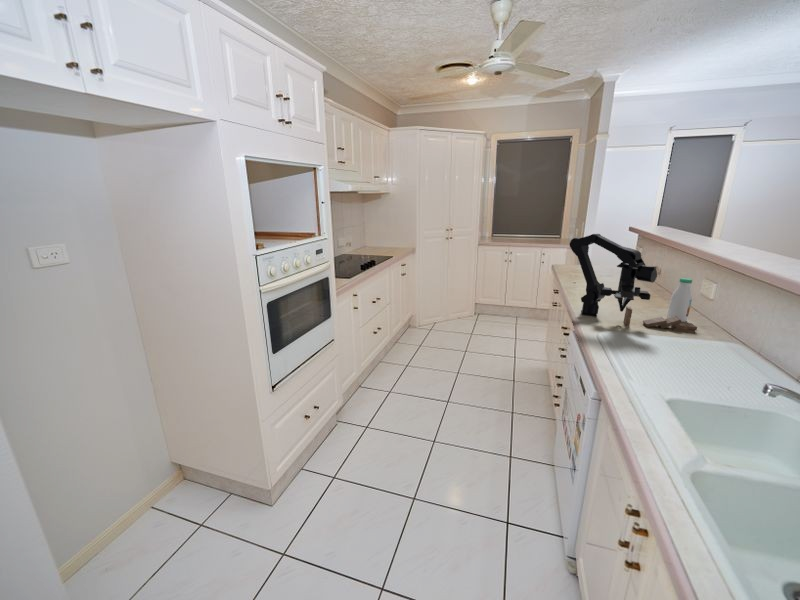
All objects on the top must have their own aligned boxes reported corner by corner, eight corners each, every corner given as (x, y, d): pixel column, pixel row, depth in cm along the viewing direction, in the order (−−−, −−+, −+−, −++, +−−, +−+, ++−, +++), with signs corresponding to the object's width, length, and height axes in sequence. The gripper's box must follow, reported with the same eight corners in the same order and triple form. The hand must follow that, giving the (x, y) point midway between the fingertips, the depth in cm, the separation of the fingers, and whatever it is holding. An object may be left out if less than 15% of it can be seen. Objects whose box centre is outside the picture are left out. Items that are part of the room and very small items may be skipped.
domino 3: (660, 325, 156) (680, 319, 153) (657, 321, 161) (676, 315, 157) (662, 328, 156) (681, 322, 153) (658, 324, 161) (677, 318, 157)
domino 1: (625, 324, 161) (628, 309, 159) (623, 321, 165) (626, 306, 163) (629, 325, 160) (632, 309, 158) (627, 322, 164) (630, 306, 162)
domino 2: (646, 324, 157) (666, 320, 155) (642, 320, 162) (661, 316, 159) (647, 327, 158) (667, 323, 155) (643, 323, 162) (662, 320, 159)
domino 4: (676, 325, 153) (697, 326, 151) (671, 321, 158) (691, 323, 156) (676, 328, 154) (696, 330, 152) (671, 325, 158) (690, 326, 156)
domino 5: (674, 328, 154) (695, 331, 151) (670, 325, 158) (691, 327, 155) (673, 331, 154) (694, 334, 151) (670, 328, 159) (690, 330, 156)
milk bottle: (681, 323, 163) (691, 281, 158) (663, 318, 170) (672, 277, 164) (690, 320, 167) (700, 279, 161) (671, 316, 173) (681, 276, 168)
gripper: (605, 279, 155) (600, 313, 159) (656, 284, 148) (649, 319, 152) (603, 275, 165) (597, 307, 169) (650, 278, 157) (643, 312, 162)
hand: (621, 311), depth 163 cm, fingers closed
